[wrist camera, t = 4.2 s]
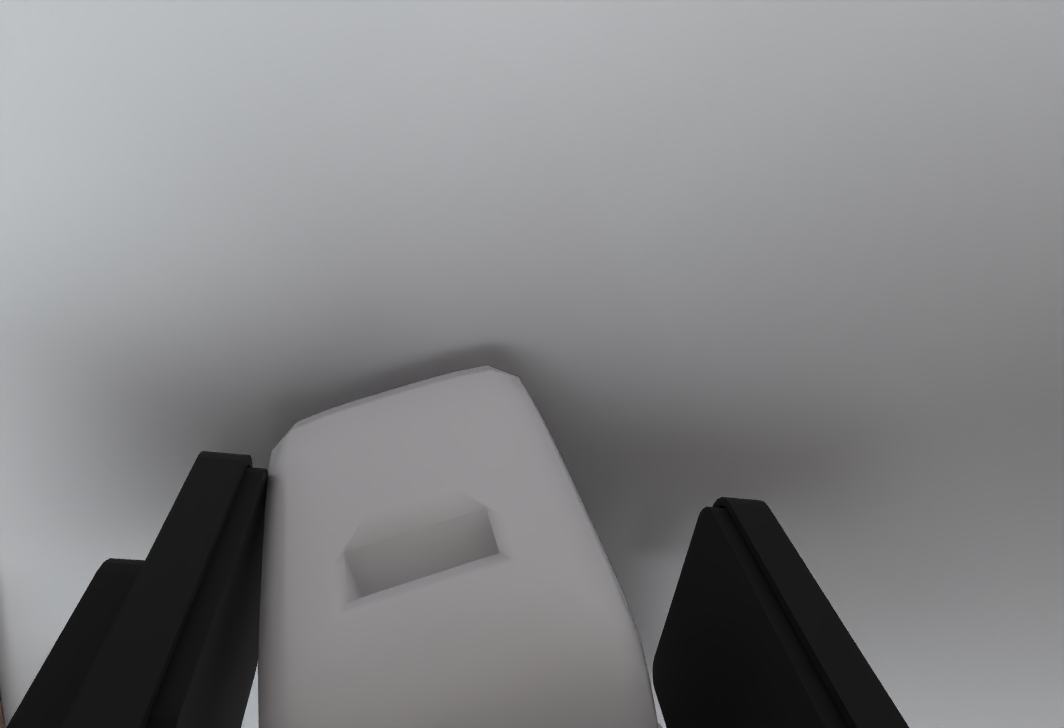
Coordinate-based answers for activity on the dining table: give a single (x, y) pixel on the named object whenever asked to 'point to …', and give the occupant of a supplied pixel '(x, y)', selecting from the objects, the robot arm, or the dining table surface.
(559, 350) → the dining table surface
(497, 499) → the power adapter
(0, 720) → the stand
